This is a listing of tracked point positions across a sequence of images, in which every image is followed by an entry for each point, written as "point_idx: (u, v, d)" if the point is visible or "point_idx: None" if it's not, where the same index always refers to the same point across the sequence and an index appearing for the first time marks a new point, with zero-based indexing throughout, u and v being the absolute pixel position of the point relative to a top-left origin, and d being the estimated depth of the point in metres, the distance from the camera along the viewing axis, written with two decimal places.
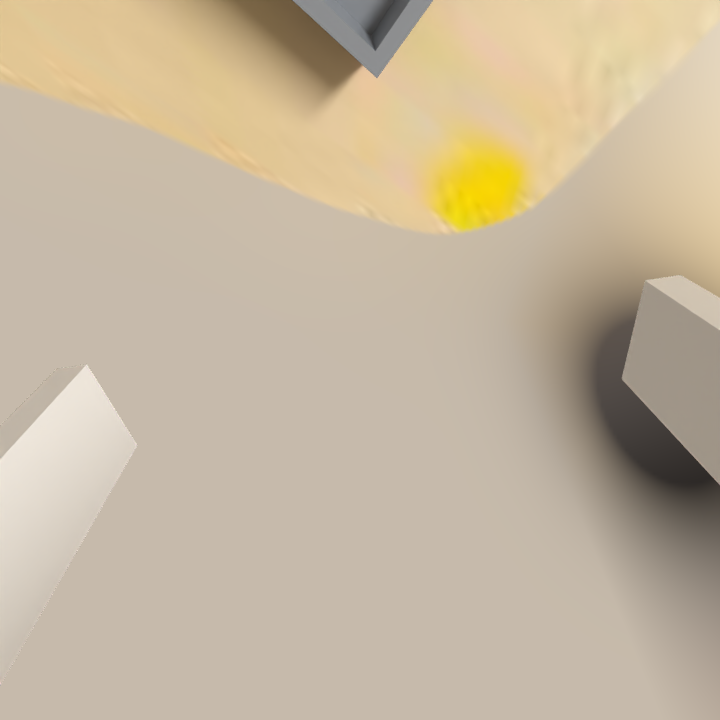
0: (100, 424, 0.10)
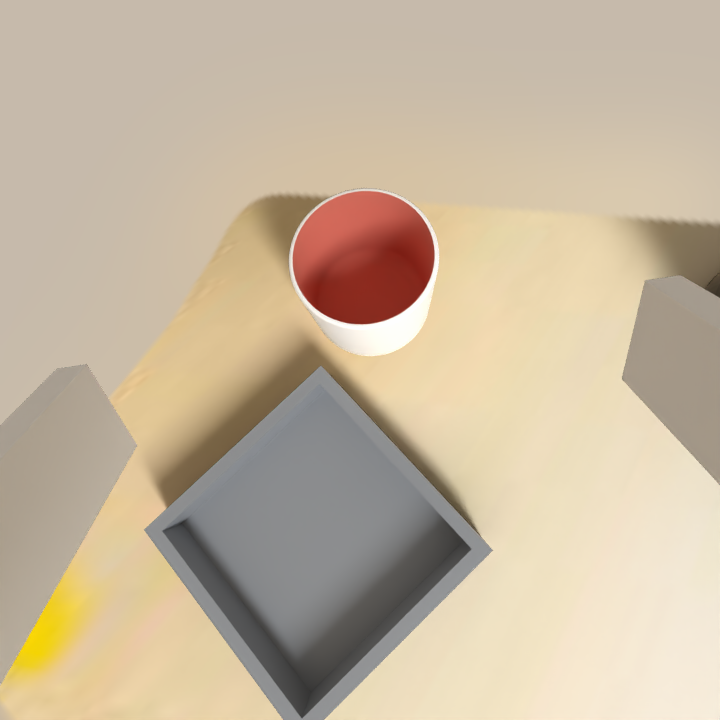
0: (100, 424, 0.10)
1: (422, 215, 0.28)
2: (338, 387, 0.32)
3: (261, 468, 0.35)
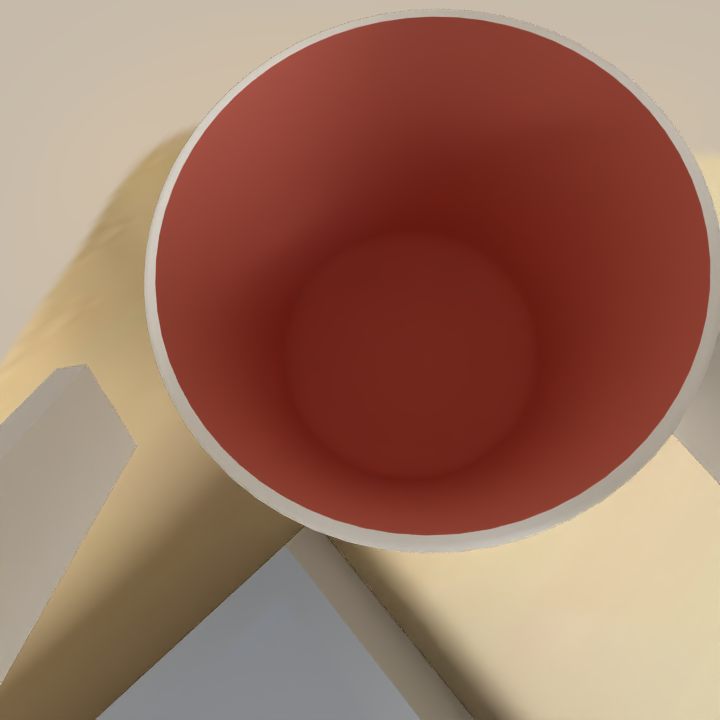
0: (100, 424, 0.10)
1: (638, 91, 0.07)
2: (330, 612, 0.12)
3: None
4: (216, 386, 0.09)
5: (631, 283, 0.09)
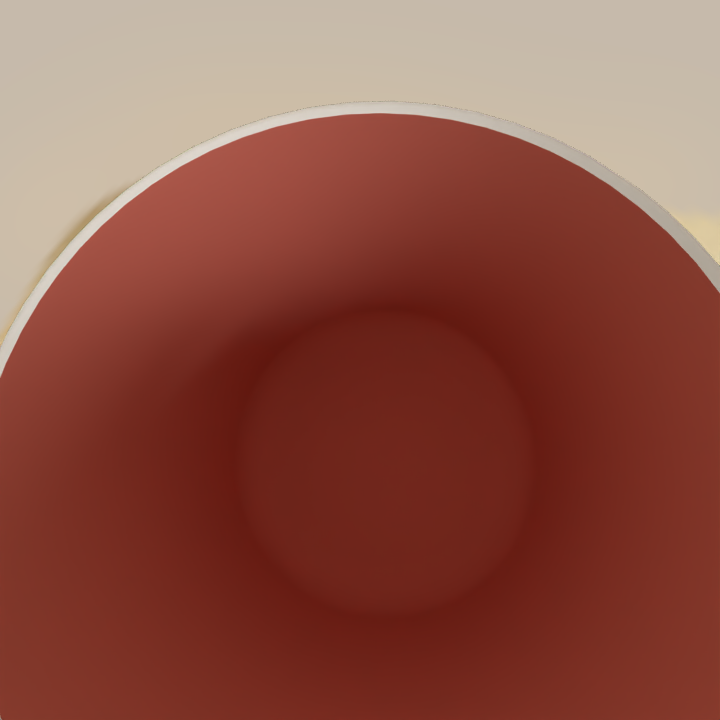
0: None
1: (679, 232, 0.05)
2: None
3: None
4: (90, 613, 0.06)
5: (662, 458, 0.07)
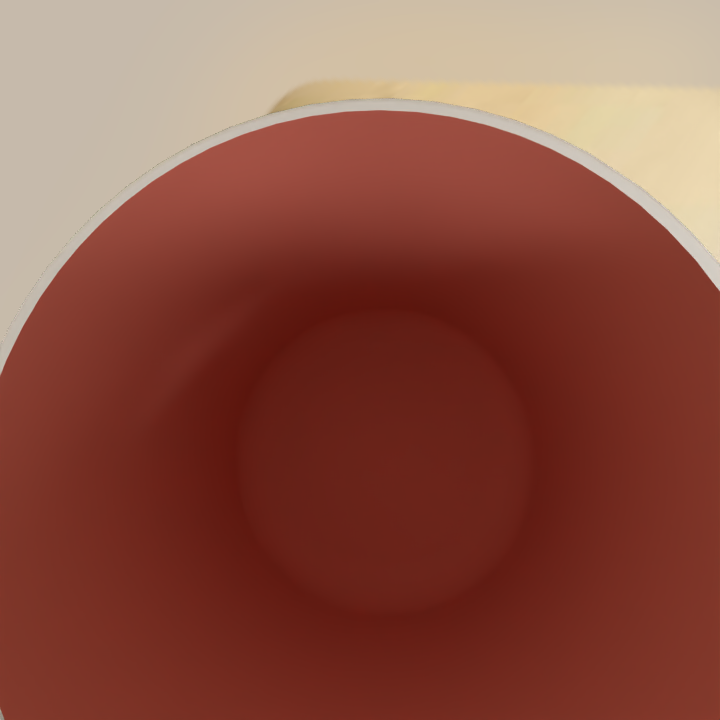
0: None
1: (677, 228, 0.05)
2: None
3: None
4: (91, 609, 0.06)
5: (661, 455, 0.07)
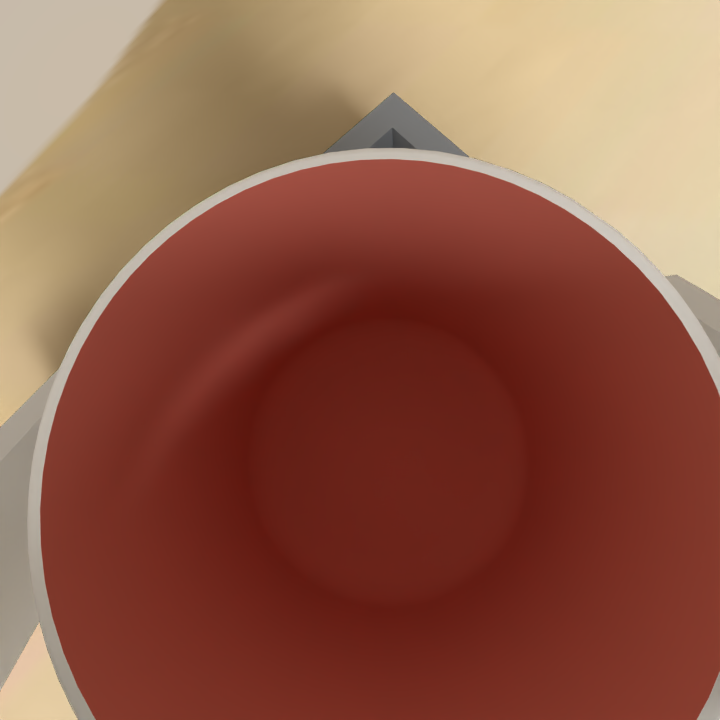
0: None
1: (646, 266, 0.06)
2: (434, 133, 0.14)
3: None
4: (134, 594, 0.07)
5: (637, 458, 0.08)
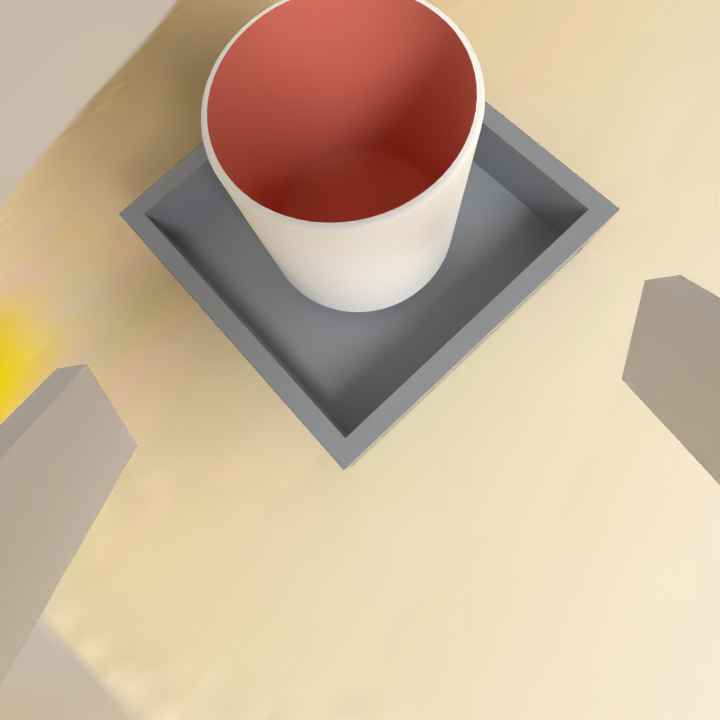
0: (100, 424, 0.10)
1: (449, 21, 0.15)
2: None
3: None
4: None
5: (465, 133, 0.16)
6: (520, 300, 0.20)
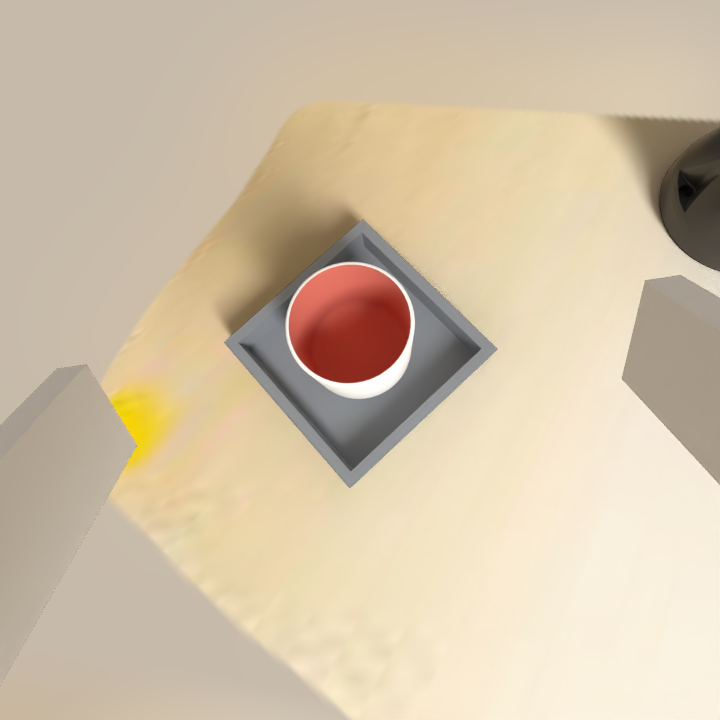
0: (100, 424, 0.10)
1: (399, 286, 0.32)
2: (376, 234, 0.41)
3: None
4: (299, 356, 0.34)
5: None
6: (443, 398, 0.37)
